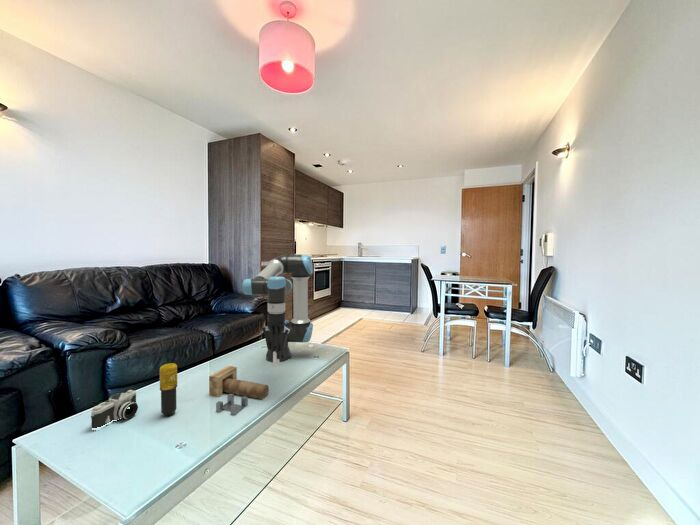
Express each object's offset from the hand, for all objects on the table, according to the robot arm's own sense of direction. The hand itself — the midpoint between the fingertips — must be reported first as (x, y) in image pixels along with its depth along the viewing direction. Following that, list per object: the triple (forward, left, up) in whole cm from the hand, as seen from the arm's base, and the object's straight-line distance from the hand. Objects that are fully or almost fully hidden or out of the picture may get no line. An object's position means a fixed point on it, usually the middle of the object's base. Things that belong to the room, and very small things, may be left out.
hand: (276, 365), depth 122 cm
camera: (+31, -50, -16) cm, 61 cm away
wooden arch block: (0, -28, -15) cm, 32 cm away
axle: (0, -18, -16) cm, 24 cm away
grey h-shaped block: (+12, -13, -15) cm, 24 cm away
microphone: (+23, -38, -16) cm, 47 cm away
